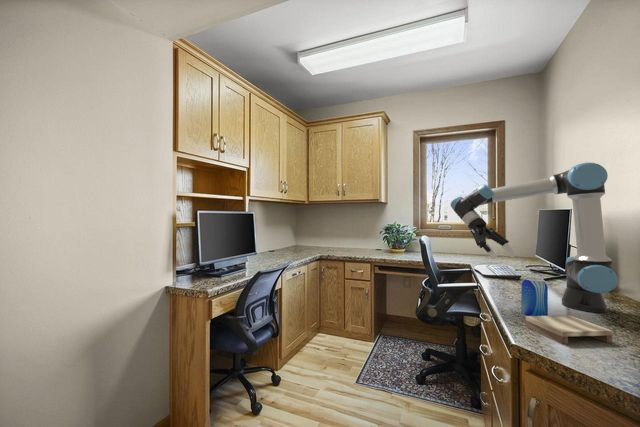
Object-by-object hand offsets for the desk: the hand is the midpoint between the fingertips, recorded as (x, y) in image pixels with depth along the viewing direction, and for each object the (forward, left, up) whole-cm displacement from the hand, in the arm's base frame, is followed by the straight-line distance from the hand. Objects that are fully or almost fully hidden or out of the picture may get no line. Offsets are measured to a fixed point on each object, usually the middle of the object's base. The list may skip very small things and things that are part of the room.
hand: (505, 256), depth 121 cm
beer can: (-4, +10, -24) cm, 26 cm away
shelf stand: (-2, +25, -24) cm, 35 cm away
